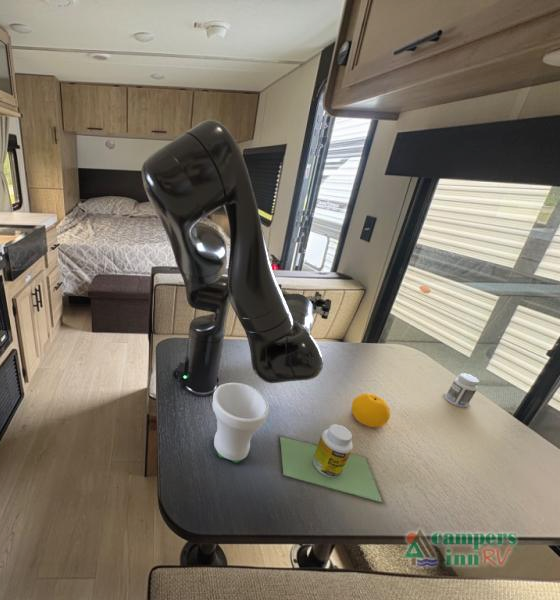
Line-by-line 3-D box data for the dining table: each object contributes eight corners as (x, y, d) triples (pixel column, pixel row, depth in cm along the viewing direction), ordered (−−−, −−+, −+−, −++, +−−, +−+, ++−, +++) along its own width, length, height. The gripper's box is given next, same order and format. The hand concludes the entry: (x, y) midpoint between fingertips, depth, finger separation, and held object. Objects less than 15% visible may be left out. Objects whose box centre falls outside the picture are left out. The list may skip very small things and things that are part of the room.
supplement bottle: (320, 479, 62) (335, 443, 57) (307, 455, 67) (319, 420, 62) (346, 478, 62) (363, 443, 58) (331, 454, 67) (345, 420, 63)
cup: (194, 443, 68) (201, 394, 62) (227, 421, 74) (236, 375, 69) (233, 482, 60) (246, 430, 54) (266, 454, 66) (280, 405, 61)
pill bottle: (466, 401, 86) (481, 377, 83) (466, 409, 83) (482, 385, 79) (445, 392, 89) (458, 369, 86) (444, 400, 86) (458, 377, 82)
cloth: (283, 475, 62) (283, 474, 62) (279, 437, 71) (279, 436, 71) (381, 503, 58) (382, 502, 58) (364, 458, 67) (365, 457, 67)
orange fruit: (386, 419, 78) (397, 397, 75) (382, 438, 72) (394, 415, 69) (351, 404, 82) (360, 382, 79) (345, 420, 77) (354, 397, 74)
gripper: (337, 309, 57) (333, 283, 71) (260, 293, 63) (271, 271, 76) (326, 342, 61) (324, 311, 74) (254, 324, 66) (265, 298, 79)
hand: (297, 291), depth 75 cm, fingers open, 8 cm apart
